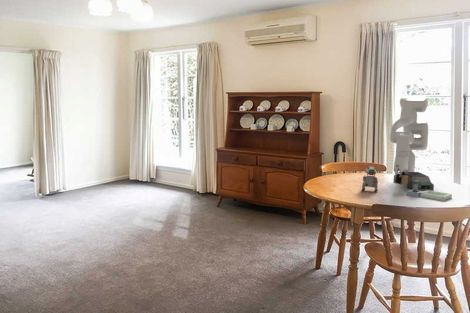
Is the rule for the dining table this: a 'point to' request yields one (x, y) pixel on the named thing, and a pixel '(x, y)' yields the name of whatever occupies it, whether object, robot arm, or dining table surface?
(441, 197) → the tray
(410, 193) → the pin socket
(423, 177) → the toy van
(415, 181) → the stop pin
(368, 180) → the figurine
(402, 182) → the chock
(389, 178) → the dining table surface
